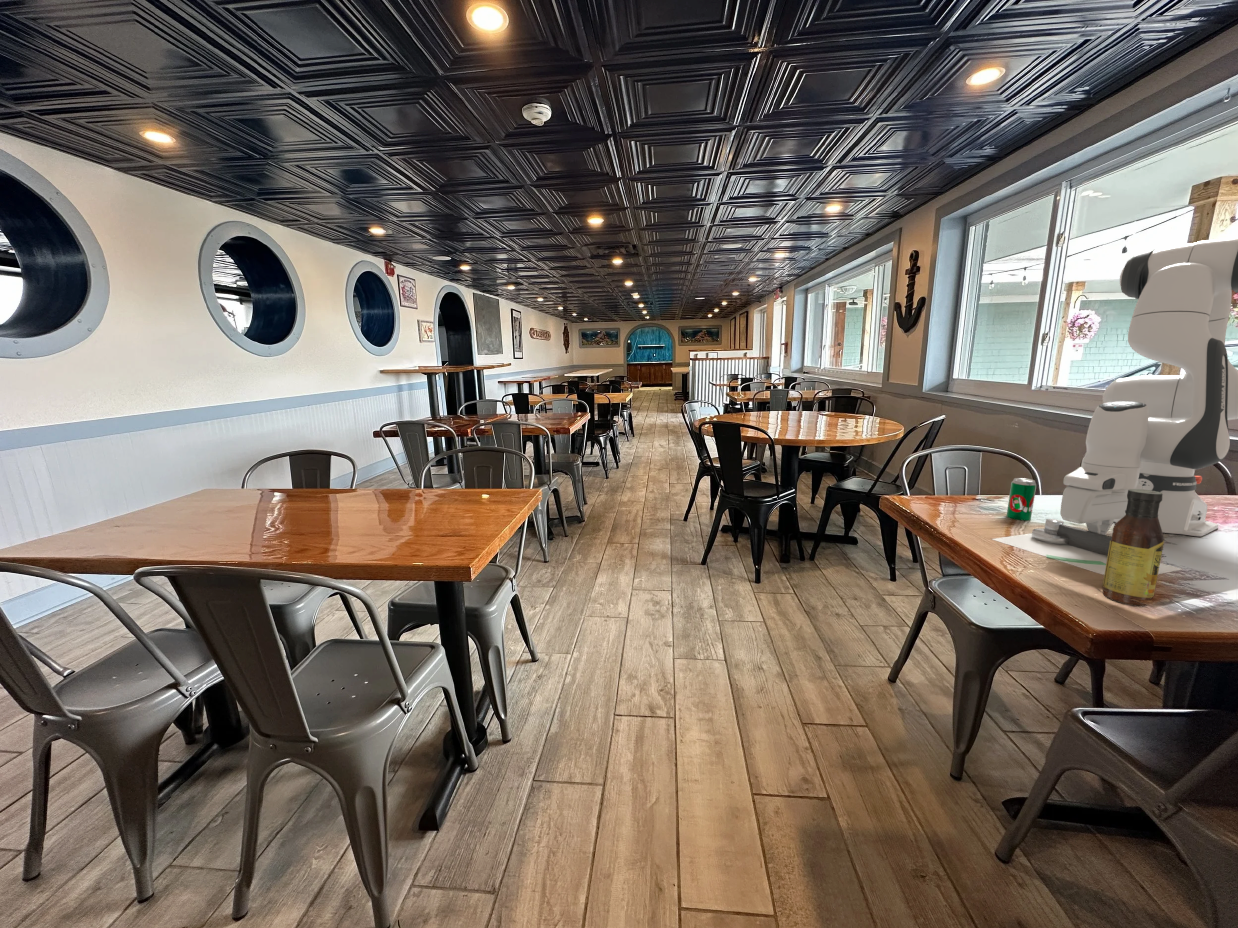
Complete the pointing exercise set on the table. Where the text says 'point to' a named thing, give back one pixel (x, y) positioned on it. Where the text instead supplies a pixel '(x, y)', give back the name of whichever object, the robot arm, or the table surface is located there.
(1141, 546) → the sauce bottle
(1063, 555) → the board
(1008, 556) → the table surface
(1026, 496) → the soda can
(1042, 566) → the table surface
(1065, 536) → the grey black long piece
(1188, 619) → the table surface
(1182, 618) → the table surface
